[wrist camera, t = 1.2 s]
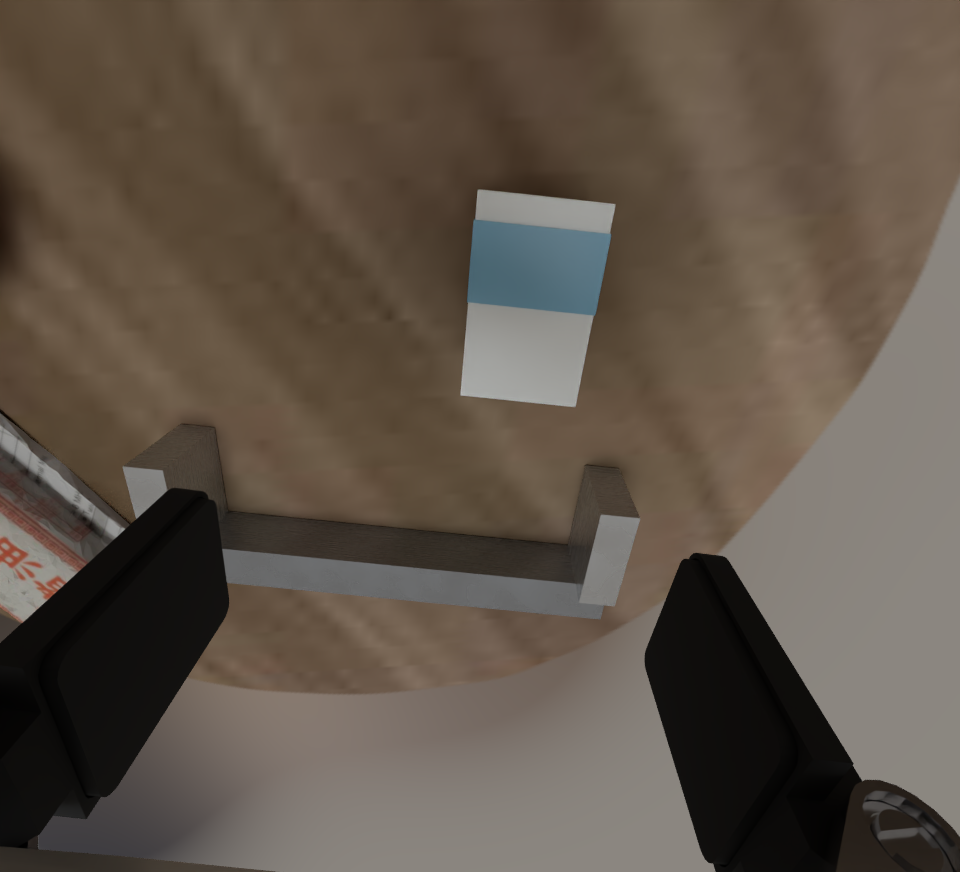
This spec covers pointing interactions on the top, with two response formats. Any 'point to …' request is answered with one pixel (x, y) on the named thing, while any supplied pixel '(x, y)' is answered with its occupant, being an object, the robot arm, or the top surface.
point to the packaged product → (44, 523)
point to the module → (532, 295)
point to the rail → (404, 544)
